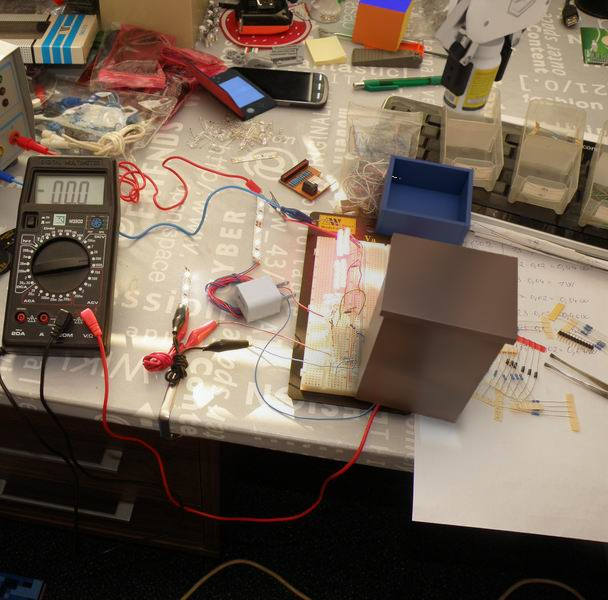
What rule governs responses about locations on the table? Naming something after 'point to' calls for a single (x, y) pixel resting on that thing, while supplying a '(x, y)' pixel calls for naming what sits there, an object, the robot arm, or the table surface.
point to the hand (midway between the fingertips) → (470, 81)
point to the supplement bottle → (477, 79)
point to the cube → (382, 23)
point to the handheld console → (234, 92)
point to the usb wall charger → (260, 297)
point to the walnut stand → (437, 326)
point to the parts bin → (426, 200)
